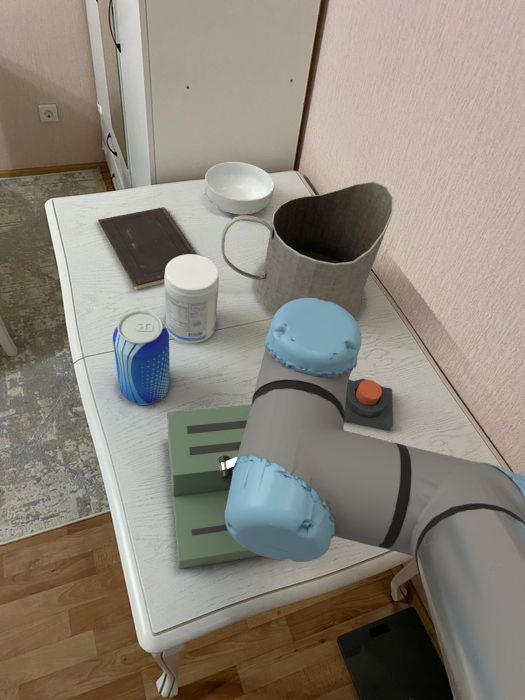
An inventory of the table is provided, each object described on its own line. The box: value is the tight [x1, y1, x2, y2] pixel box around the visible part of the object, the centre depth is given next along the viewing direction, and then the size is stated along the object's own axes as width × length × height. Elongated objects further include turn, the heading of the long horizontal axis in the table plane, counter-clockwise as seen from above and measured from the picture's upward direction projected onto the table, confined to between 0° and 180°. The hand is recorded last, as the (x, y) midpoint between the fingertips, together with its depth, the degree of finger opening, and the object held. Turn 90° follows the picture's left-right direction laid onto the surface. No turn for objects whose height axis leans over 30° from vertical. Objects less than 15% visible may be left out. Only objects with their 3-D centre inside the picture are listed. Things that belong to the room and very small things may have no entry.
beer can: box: [112, 310, 171, 406], centre depth 81 cm, size 8×8×16 cm
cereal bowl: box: [204, 161, 275, 216], centre depth 124 cm, size 17×17×7 cm
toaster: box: [167, 404, 262, 570], centre depth 72 cm, size 19×17×11 cm
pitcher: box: [220, 181, 394, 319], centre depth 98 cm, size 23×32×25 cm
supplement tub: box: [164, 254, 220, 344], centre depth 92 cm, size 10×10×15 cm
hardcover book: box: [97, 206, 198, 290], centre depth 110 cm, size 16×23×2 cm
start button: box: [356, 379, 382, 406], centre depth 87 cm, size 4×4×2 cm
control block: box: [344, 378, 394, 432], centre depth 89 cm, size 8×10×4 cm
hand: (257, 517), depth 69 cm, fingers closed
